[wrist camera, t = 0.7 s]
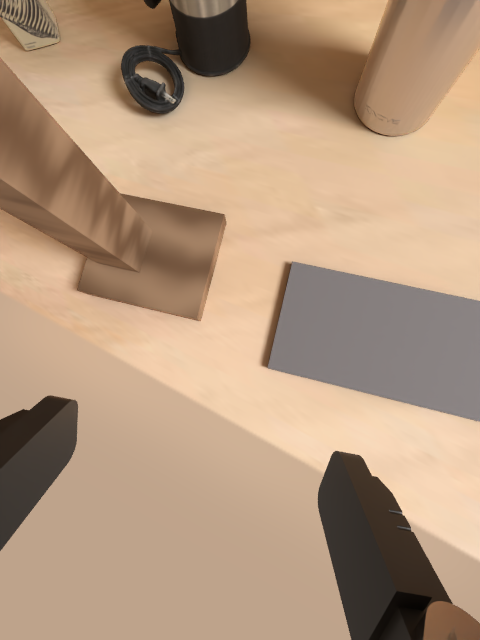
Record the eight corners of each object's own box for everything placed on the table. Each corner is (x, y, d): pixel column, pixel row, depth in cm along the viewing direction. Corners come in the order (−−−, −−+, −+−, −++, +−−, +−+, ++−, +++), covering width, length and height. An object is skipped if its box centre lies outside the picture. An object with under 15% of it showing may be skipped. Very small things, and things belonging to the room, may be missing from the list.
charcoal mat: (291, 263, 32) (292, 261, 32) (537, 316, 30) (545, 314, 29) (267, 367, 31) (267, 368, 30) (521, 431, 28) (529, 433, 28)
